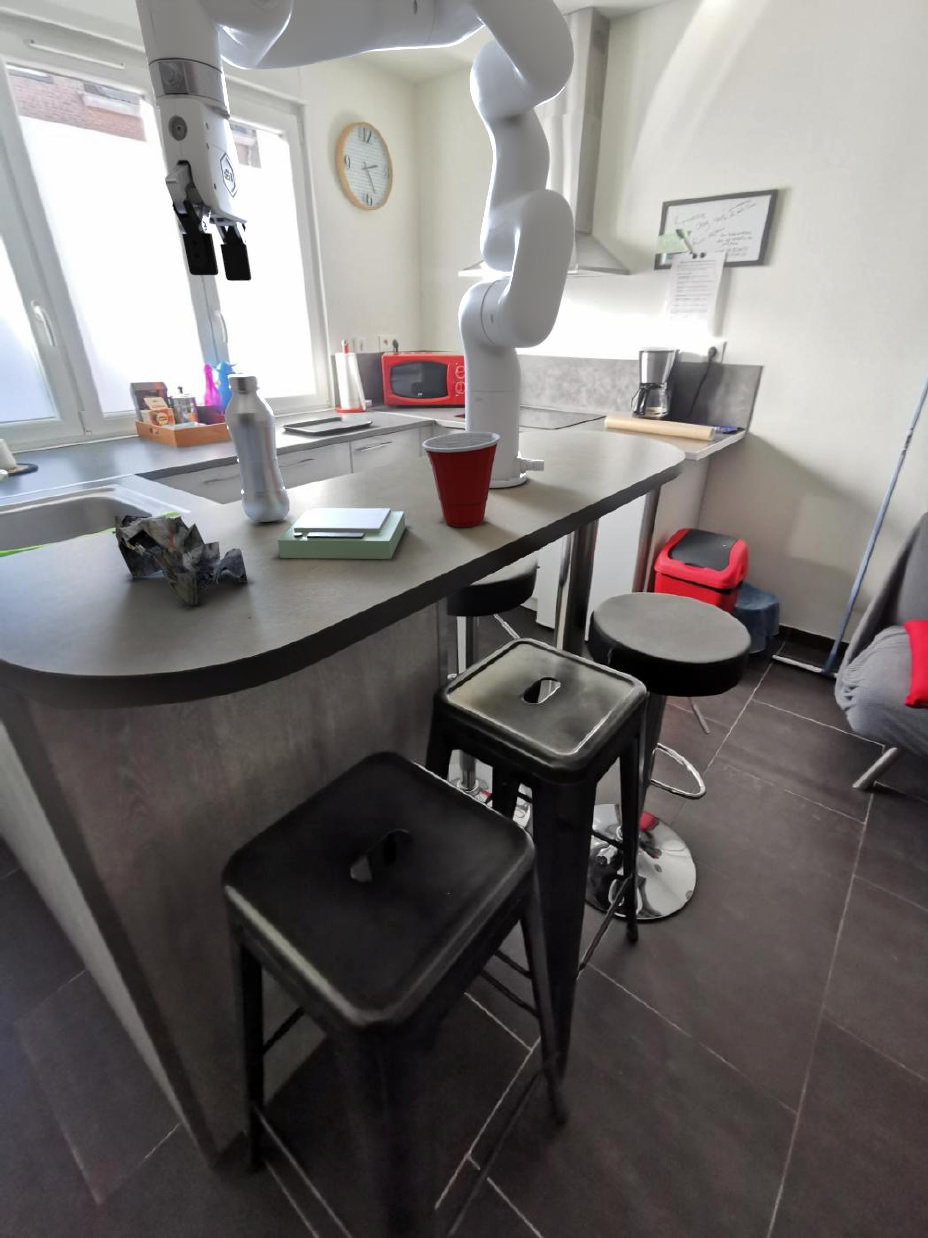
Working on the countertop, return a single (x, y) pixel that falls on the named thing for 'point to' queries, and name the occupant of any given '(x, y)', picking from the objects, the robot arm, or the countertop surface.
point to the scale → (344, 534)
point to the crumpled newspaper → (174, 554)
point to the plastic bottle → (255, 450)
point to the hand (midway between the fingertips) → (222, 277)
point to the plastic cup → (462, 474)
